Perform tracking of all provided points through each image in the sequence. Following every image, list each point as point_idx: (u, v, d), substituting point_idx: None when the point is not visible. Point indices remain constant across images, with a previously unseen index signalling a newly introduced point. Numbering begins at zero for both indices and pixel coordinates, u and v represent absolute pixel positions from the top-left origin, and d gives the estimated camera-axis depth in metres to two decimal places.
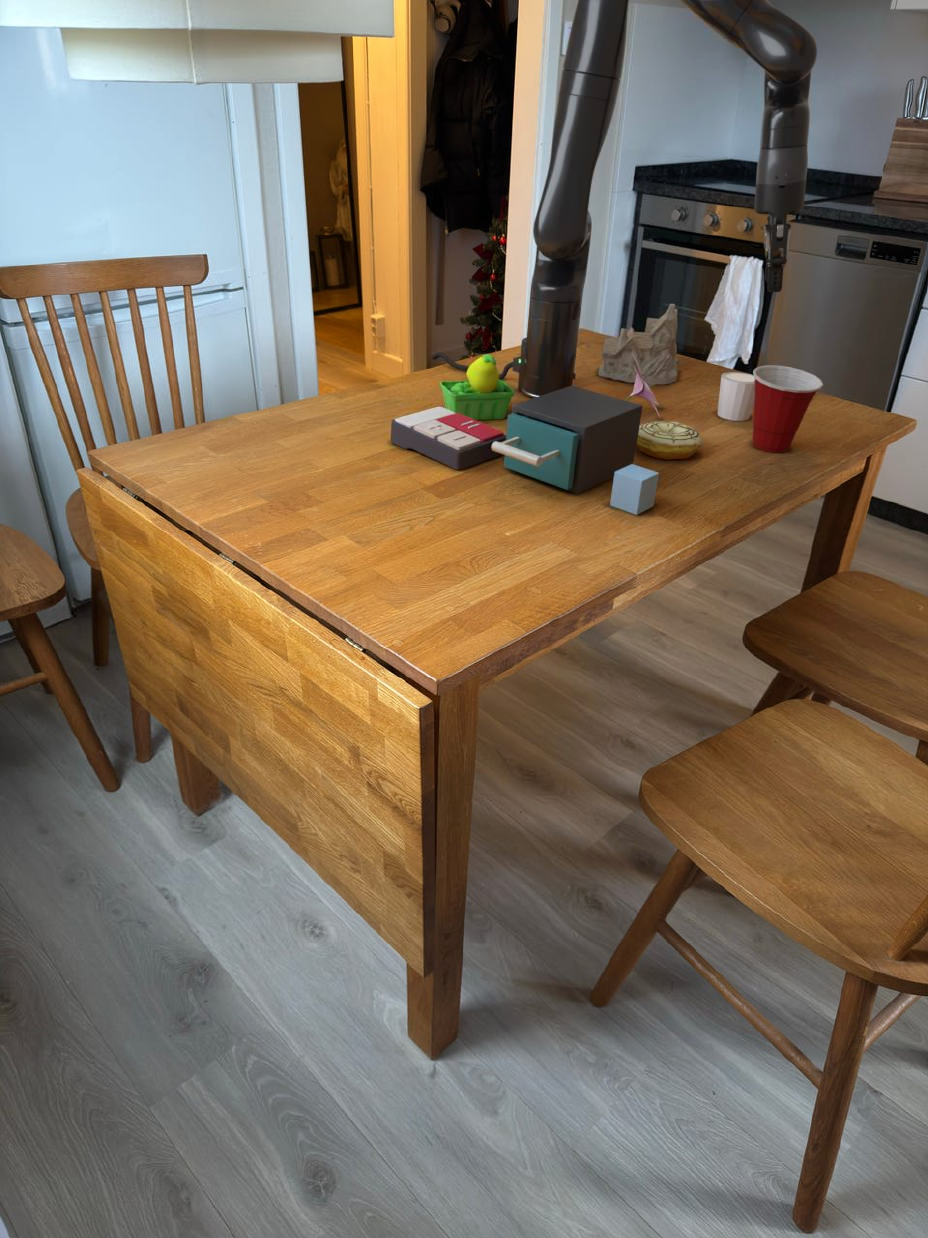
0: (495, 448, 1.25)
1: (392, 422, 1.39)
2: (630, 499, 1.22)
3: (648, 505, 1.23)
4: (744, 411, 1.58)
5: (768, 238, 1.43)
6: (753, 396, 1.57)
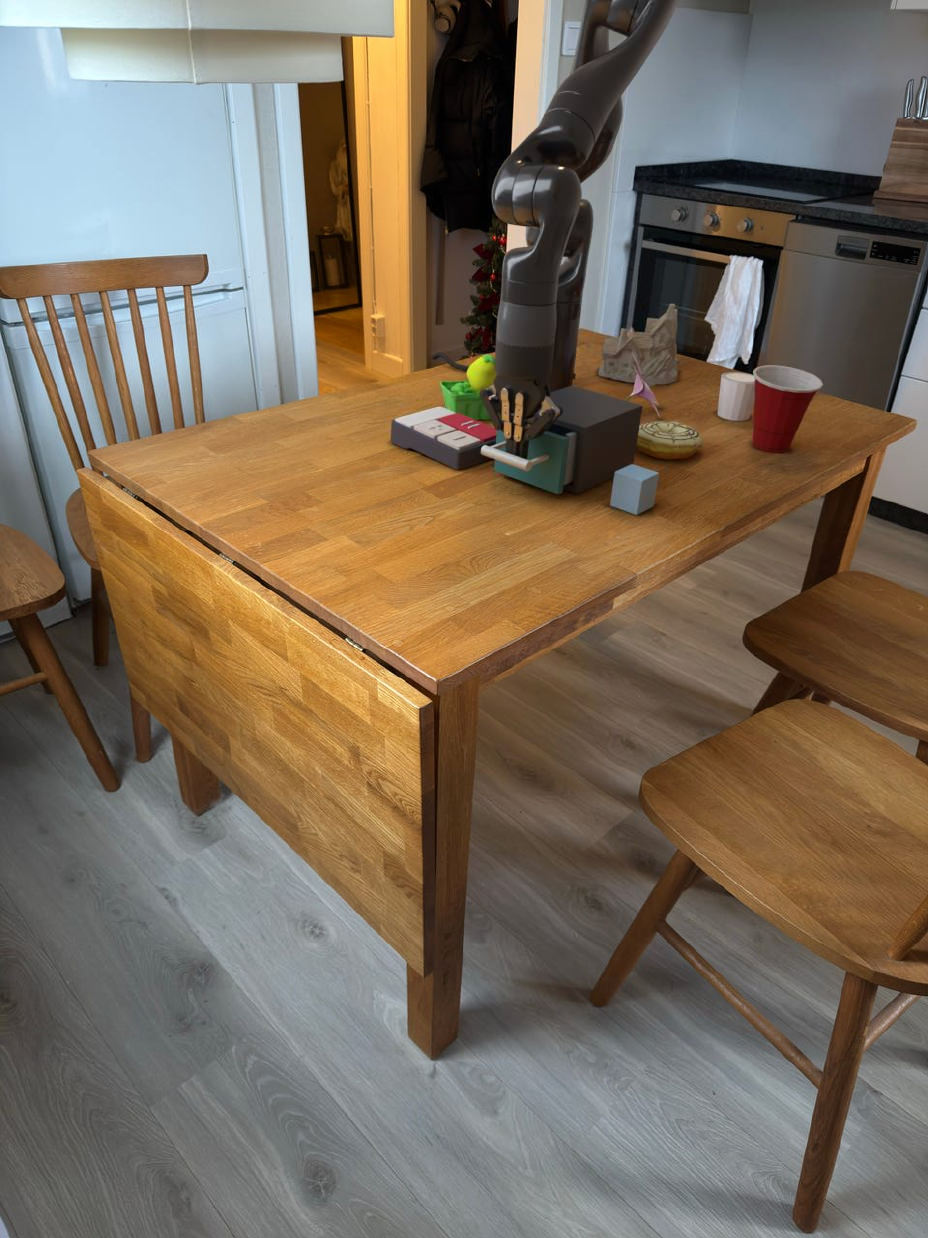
0: (484, 452, 1.23)
1: (392, 422, 1.39)
2: (630, 499, 1.22)
3: (648, 505, 1.23)
4: (744, 411, 1.58)
5: None
6: (753, 396, 1.57)
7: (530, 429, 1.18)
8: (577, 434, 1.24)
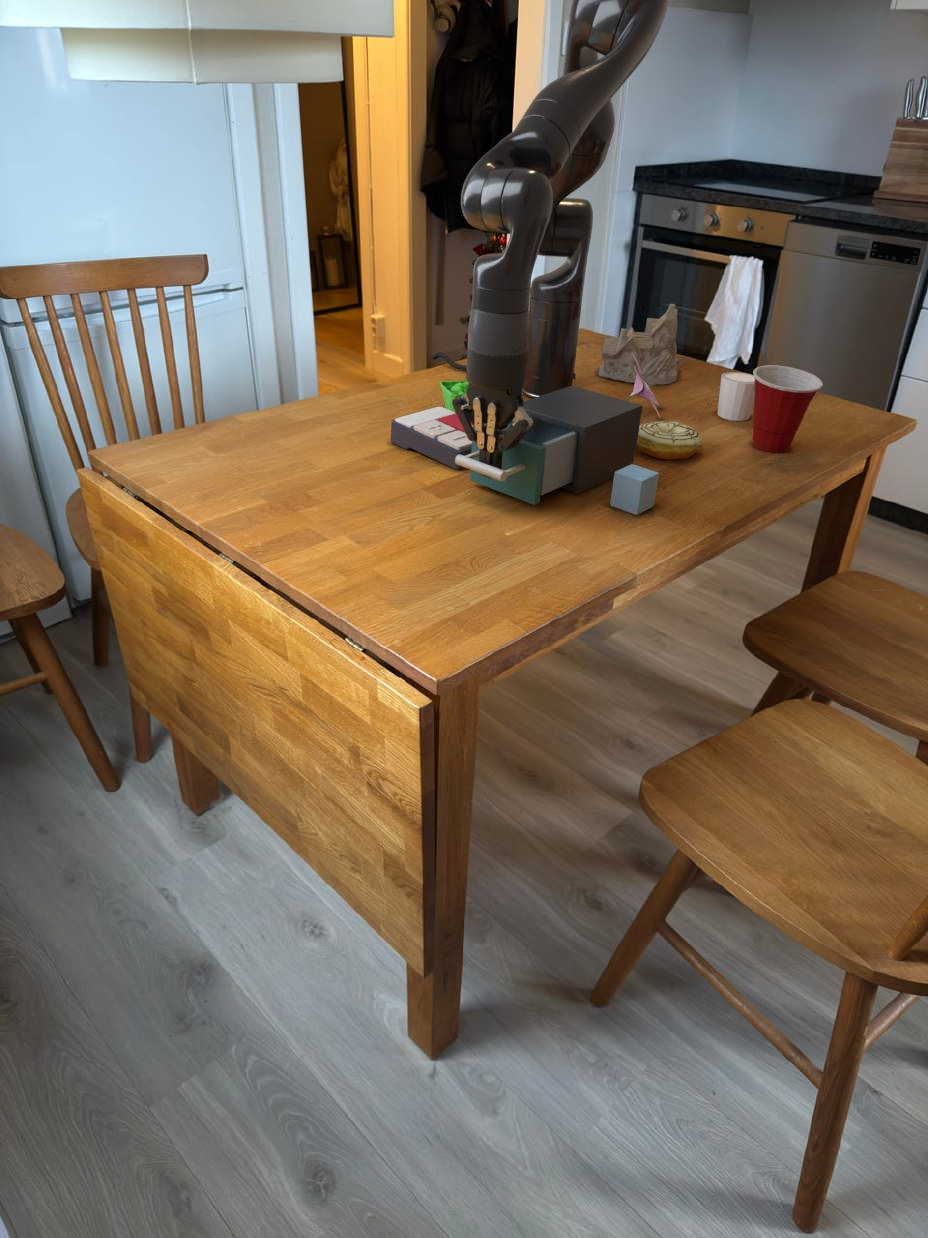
0: (459, 462, 1.20)
1: (392, 422, 1.39)
2: (630, 499, 1.22)
3: (648, 505, 1.23)
4: (744, 411, 1.58)
5: None
6: (753, 396, 1.57)
7: (503, 440, 1.15)
8: (554, 443, 1.20)
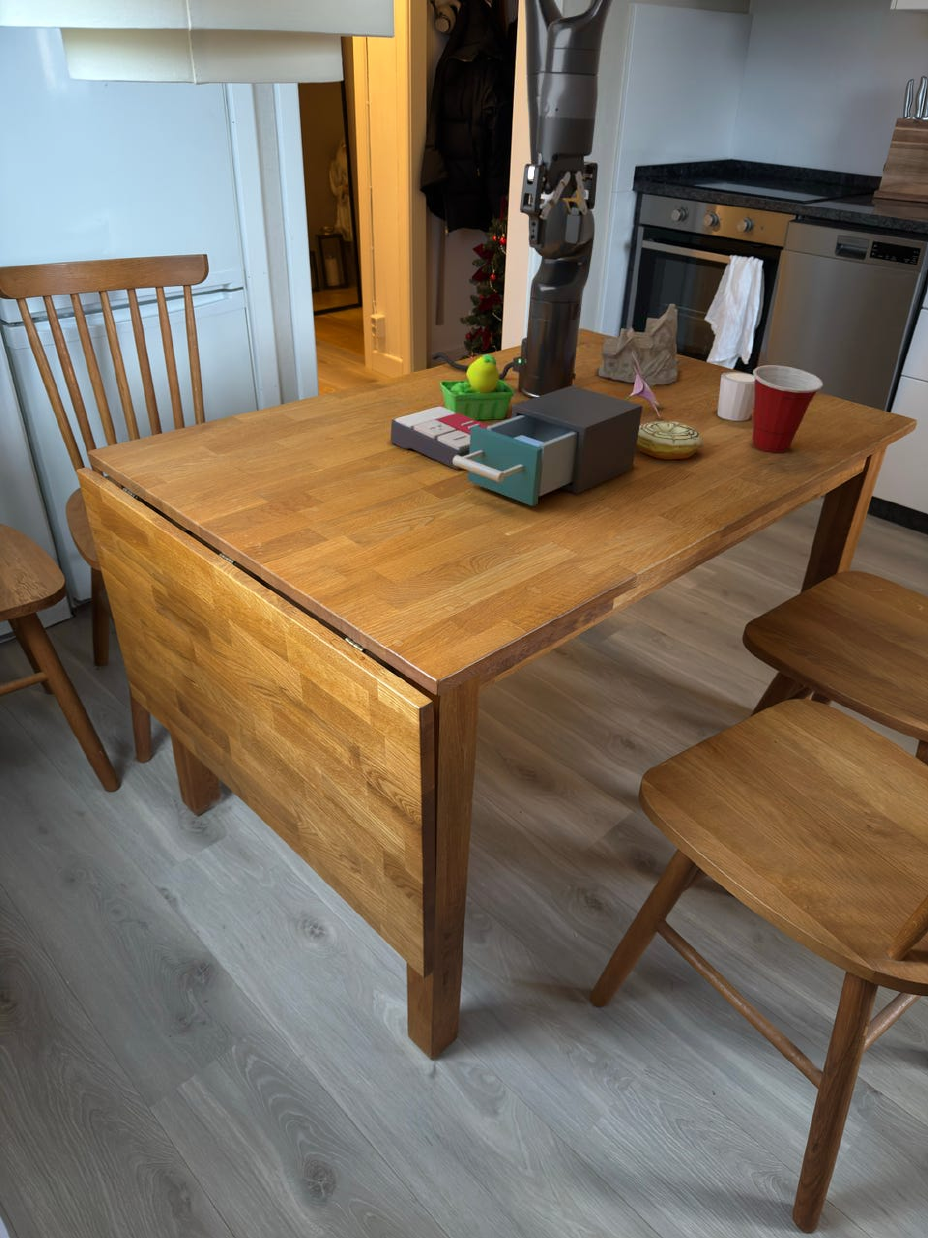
0: (456, 462, 1.19)
1: (392, 422, 1.39)
2: None
3: None
4: (744, 411, 1.58)
5: None
6: (753, 396, 1.57)
7: None
8: (552, 444, 1.20)
